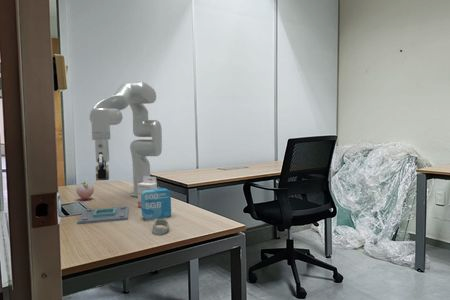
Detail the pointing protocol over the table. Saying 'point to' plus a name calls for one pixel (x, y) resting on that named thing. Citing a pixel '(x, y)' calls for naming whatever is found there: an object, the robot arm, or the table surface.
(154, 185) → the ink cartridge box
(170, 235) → the table surface
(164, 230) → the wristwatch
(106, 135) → the robot arm
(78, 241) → the table surface
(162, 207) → the data package
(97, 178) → the smooth beige block
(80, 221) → the baseplate
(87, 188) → the decorative fruit
